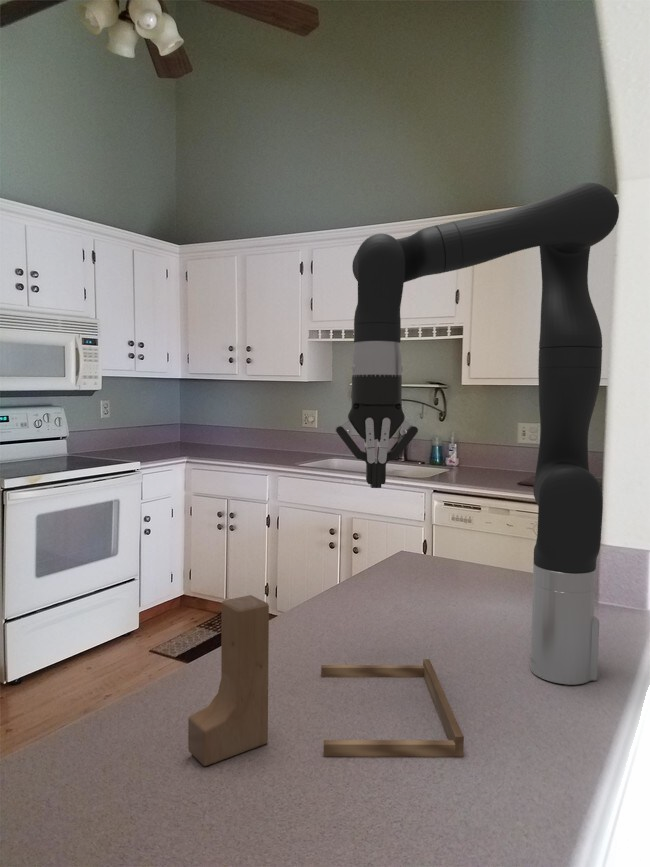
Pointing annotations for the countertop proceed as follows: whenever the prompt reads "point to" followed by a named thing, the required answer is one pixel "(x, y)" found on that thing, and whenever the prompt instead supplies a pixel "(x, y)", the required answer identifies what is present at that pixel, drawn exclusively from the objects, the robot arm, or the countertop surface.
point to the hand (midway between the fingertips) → (375, 487)
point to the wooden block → (236, 686)
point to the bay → (400, 747)
